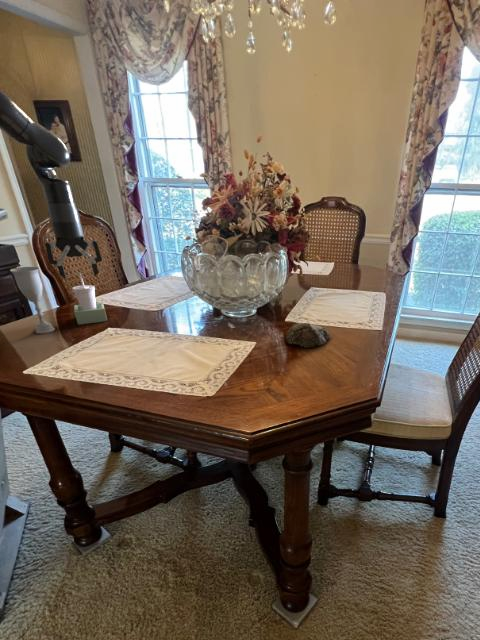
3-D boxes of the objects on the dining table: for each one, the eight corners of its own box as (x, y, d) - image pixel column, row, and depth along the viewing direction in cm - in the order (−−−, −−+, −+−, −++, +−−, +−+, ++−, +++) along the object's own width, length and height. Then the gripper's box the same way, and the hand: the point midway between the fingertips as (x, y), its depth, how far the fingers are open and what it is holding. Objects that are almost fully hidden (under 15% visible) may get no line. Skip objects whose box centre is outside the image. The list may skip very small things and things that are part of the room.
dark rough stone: (293, 331, 117) (293, 315, 114) (332, 335, 113) (332, 319, 111) (278, 345, 106) (278, 328, 104) (321, 350, 103) (321, 333, 100)
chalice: (63, 329, 116) (43, 268, 107) (39, 336, 111) (17, 272, 102) (50, 325, 119) (31, 265, 111) (27, 331, 114) (5, 269, 106)
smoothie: (83, 321, 121) (71, 276, 114) (78, 316, 125) (65, 272, 118) (104, 317, 124) (93, 273, 118) (98, 312, 129) (87, 270, 122)
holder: (78, 324, 120) (74, 312, 118) (77, 317, 127) (74, 305, 125) (107, 321, 124) (104, 308, 122) (105, 314, 130) (102, 302, 128)
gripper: (36, 221, 105) (54, 281, 113) (93, 220, 111) (106, 277, 119) (38, 219, 110) (54, 276, 118) (92, 218, 116) (104, 273, 124)
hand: (80, 277), depth 118 cm, fingers open, 8 cm apart
